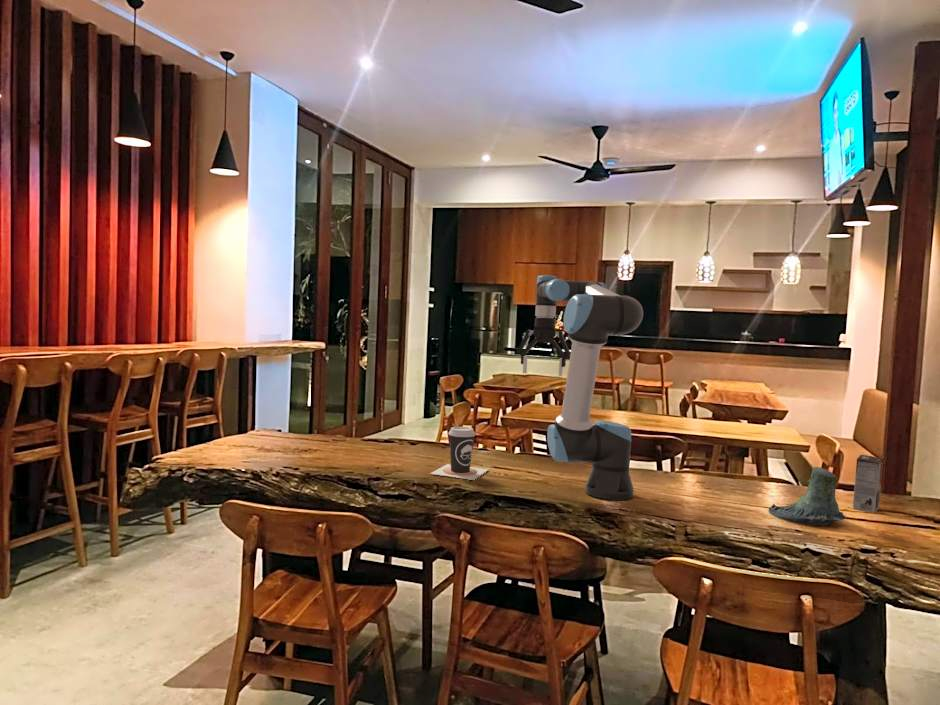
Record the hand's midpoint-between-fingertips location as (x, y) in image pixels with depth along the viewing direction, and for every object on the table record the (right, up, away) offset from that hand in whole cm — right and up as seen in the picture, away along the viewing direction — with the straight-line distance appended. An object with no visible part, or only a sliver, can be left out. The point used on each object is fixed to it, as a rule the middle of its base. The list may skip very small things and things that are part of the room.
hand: (542, 374), depth 236 cm
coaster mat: (-30, -34, -13) cm, 48 cm away
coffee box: (+99, -41, -35) cm, 113 cm away
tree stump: (+73, -41, -48) cm, 96 cm away
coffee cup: (-30, -34, -13) cm, 47 cm away
